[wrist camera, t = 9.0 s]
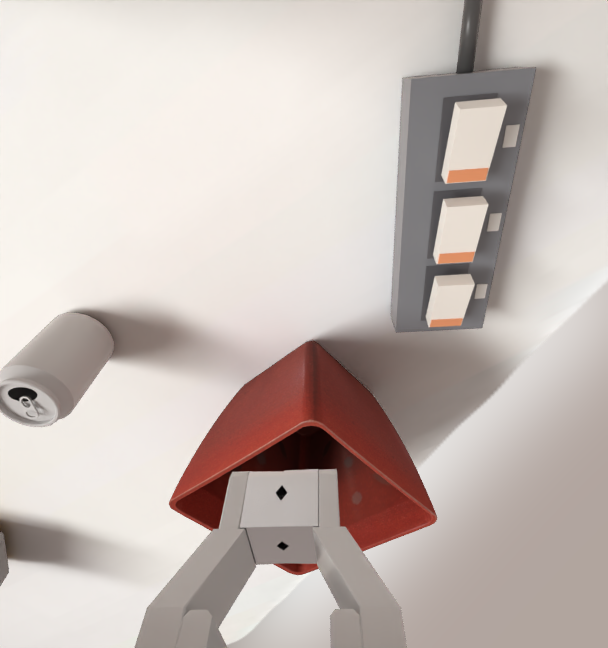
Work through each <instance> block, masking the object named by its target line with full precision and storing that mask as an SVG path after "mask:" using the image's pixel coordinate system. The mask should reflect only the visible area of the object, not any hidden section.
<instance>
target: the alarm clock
mask: <svg viewBox="0 0 608 648" xmlns="http://www.w3.org/2000/svg"><path fill="white" fill-rule="evenodd" d="M8 573H9V567H8V560H7V553H6V546H5V539H4V534H3V533H2V532H0V586H1V584H2V583H3V581H4V579H5V578H6V576H7V574H8Z"/></svg>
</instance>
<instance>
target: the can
mask: <svg viewBox="0 0 608 648" xmlns="http://www.w3.org/2000/svg"><path fill="white" fill-rule="evenodd" d="M113 351H114V341H113V338H112V335H111V334H110V332H109V331H108V330H107V328H106V327H105V326H104V325H103V324H101V323H100V322H99V321H98V320H96V319H94V318H92V317H90V316H88V315H84V314H80V313H64V314H61V315H58V316H57V317H56V318H54V319H53V320H52V321H51V322H50V323H49V324H48V325H47V326H46V327H45V328H44V329H43V330H42V331H41V332H40V333H39V334H38V335H36V336H35V337H34V338H33V339H32V340H31V341H30V342H29V343H28V344H27V345H26V346H25V347H24V348H23V349H22V350H21V351H20V352H19V353H18V354H17V355H16V356H15V357H14V358H13V359H12V360H11V361H9V362H8V363H7V364H6V365H5V366H4V367H3V368H2V369H1V370H0V412H1V413H2V414H3V415H4V416H6V417H8V418H9V419H11V420H12V421H15V422H17V423H20V424H22V425H26V426H31V427H45V426H49V425H52V424H53V423H55V422H56V421H57V420H58V419H62V418H65V417H66V416H67V415H69V414H70V413H71V412H72V410H73V409H74V408H75V406H76V405H77V403H78V402H79V401H80V399H81V398H82V396H83V395H84V393H85V392H86V391H87V389H88V388H89V386H90V385H91V384H92V382H93V381H94V379H95V378H96V376H97V375H98V374H99V372H100V371H101V369H102V368H103V367H104V365H105V364H106V362H107V361H108V360H109V358H110V357H111V355H112V353H113Z"/></svg>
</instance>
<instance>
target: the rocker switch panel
mask: <svg viewBox="0 0 608 648" xmlns="http://www.w3.org/2000/svg"><path fill="white" fill-rule="evenodd" d="M481 7H482V0H465V1H464V10H463V19H462V28H461V37H460V45H459V54H458V63H457V72H456V73H450V74H439V75H428V76H417V77H406V78H402V97H401V116H400V136H399V156H398V176H397V196H396V216H395V236H394V256H393V276H392V296H391V318H392V322H393V325H394V328H395V331H396V332H415V331H434V330H454V329H474V328H482V327H483V322H484V317H485V312H486V307H487V302H488V298H489V293H490V288H491V283H492V278H493V274H494V269H495V264H496V259H497V254H498V250H499V245H500V240H501V235H502V230H503V225H504V221H505V216H506V211H507V206H508V201H509V197H510V192H511V187H512V182H513V177H514V173H515V168H516V163H517V158H518V153H519V148H520V144H521V139H522V134H523V129H524V124H525V120H526V115H527V110H528V105H529V100H530V96H531V91H532V86H533V81H534V76H535V71H536V67H514V68H504V69H493V70H482V71H473V67H474V59H475V52H476V44H477V37H478V29H479V22H480V14H481ZM496 98H501V99H502V100H503V101H504V102H505V104H506V105H507V108H506V112H505V115H504V119H503V122H502V126H501V129H500V133H499V136H498V140H497V143H496V147H495V150H494V154H493V157H492V161H491V164H490V168H489V172H488V175H487V179H486V181H476V182H463V183H449V184H445V182H444V180H443V178H442V176H441V174H442V169H443V163H444V158H445V153H446V148H447V142H448V137H449V132H450V127H451V121H452V116H453V111H454V105H455V102H462V101H473V100H485V99H496ZM476 196H483V197H484V198H485V200H486V201H487V203H488V208H487V212H486V215H485V219H484V223H483V226H482V230H481V234H480V237H479V241H478V245H477V248H476V252H475V256H474V259H473V262H462V263H446V264H436V261H435V259H434V256H433V252H434V247H435V241H436V236H437V230H438V225H439V219H440V214H441V208H442V203H443V199H449V198H462V197H476ZM459 274H471V276H472V279H473V281H474V284H475V285H474V288H473V291H472V294H471V297H470V300H469V303H468V306H467V309H466V312H465V315H464V318H463V321H462V324H461V326H444V327H428V323H427V320H426V314H427V309H428V305H429V300H430V296H431V291H432V287H433V282H434V278H435V276H443V275H459Z"/></svg>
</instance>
